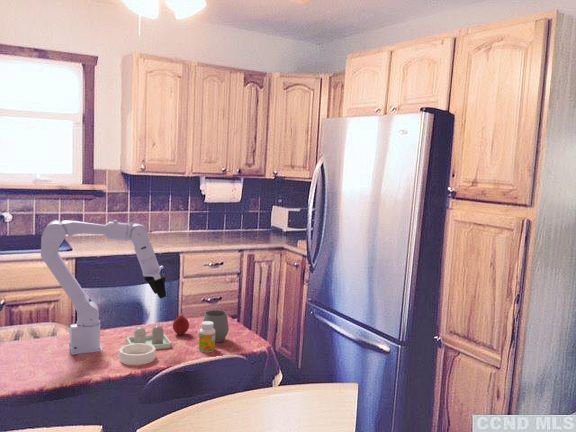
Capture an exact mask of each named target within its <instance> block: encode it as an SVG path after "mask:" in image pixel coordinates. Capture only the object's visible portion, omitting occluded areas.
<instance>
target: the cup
mask: <svg viewBox="0 0 576 432" xmlns="http://www.w3.org/2000/svg"><path fill="white" fill-rule="evenodd" d="M204 321H211V322H213V323H214V326H213V328H214V329H215V343H221V342H223V341H224V340H225V339H226V337H227V336H228V333H229V330H230V327H229V321H228V313H227V312H226V311H225V310H220V309H217V310H216V309H215V310H214V309H213V310H212V309H211V310H208V311H205V313H204V317H203V321H202V322H204Z"/></svg>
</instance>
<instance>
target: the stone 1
mask: <svg viewBox="0 0 576 432" xmlns="http://www.w3.org/2000/svg"><path fill="white" fill-rule="evenodd" d="M146 333H147V332H146V329H145V328H144V327H142V326H139V327H136V328H135V329H134V332H133V336H134V344H135V343H144V344H146V335H147V334H146Z"/></svg>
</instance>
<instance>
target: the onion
mask: <svg viewBox="0 0 576 432" xmlns="http://www.w3.org/2000/svg"><path fill="white" fill-rule="evenodd" d="M172 329H173V331H174V333H176V334H177V335H178V336H182V335H184V334H186V332H188V330H189V329H190V322H189V321H188V319H187V318H186V317H185V316H184V314H183V313H180V314H179V316H178V317H176V318H175V319H174V321H173V323H172Z"/></svg>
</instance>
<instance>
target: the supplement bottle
mask: <svg viewBox="0 0 576 432" xmlns="http://www.w3.org/2000/svg"><path fill="white" fill-rule="evenodd" d="M203 321H204V320H203ZM203 321H202V322H201V324H200V325H201V328H200V329H199V331H198V351H199V352H201V353H211V352H214V351H215V350H216V348H215V347H216V342H215V329H214V328H213V326H214V323H213V322H211V321H204V322H203Z"/></svg>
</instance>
